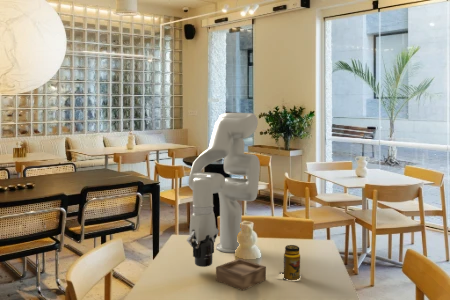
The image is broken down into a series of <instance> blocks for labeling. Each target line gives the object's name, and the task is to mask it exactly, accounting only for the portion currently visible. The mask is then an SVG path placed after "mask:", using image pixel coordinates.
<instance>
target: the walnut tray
mask: <svg viewBox="0 0 450 300" xmlns="http://www.w3.org/2000/svg"><path fill="white" fill-rule="evenodd" d="M266 280H267V267H266V266H265V265H262V264H259V263H256V262H252V261H249V260H247V259H244V258H243V259H242V258H237V259H234V260H231V261H228V262H225V263H223V264H220V265H218V266H216V267H215V281H216V282H219V283H220V284H224V285H227V286H229V287H233V288H235V289H238V290H240V289H241V291H245V290H246V289H249V288H251V286H252V287H254V286H256V285H258V284H260V282H261V283H263V282H265V281H266ZM262 281H263V282H262Z"/></svg>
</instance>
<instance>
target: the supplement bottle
mask: <svg viewBox="0 0 450 300" xmlns="http://www.w3.org/2000/svg"><path fill="white" fill-rule="evenodd" d="M195 244H197V241H196V243H195ZM199 248H200V258H199V259H198V258H195V257H194V264H195V265H196V266H197V267H201V268H205V267H210V266H212V264H213V257H214V256H213V254H214V253H213V244H212V241H211V240H210V238H209V235H207V236H206V238H205V239H204V240H202V241H201V242H200V245H199Z"/></svg>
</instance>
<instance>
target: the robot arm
mask: <svg viewBox="0 0 450 300" xmlns="http://www.w3.org/2000/svg"><path fill="white" fill-rule="evenodd" d="M258 121H259V120H258V117H257V115H256V114H254V113H251V112H224V113H221V114H219V116H218V119H217V120H216V121H215V123H214V127H213V131H212V134H211V138H210V141H209V145H208V147H207V148H206V150H204V151H203V152H201V153H200V155H199V156H198V157H196V158H195V160H194V161H193V162H192V166H191V169H190V173H189V175H188V181H187V182H188V183H187V184H188V187H189V189H191V190H192V210H193V211H192V214H191V216H190V219H189V221H190V222H189V236H188V237H187V239H186V242H187V243H188V244H189V245H190V247H192V257H193V258H194V259H195V258H198V259H199V258H200V248H199V245H200V242H201V241H202V240H204V239H205V238H206V236H207V235H209V238H210V240H211V241H212V244H213V254H214V253H215V246H216V250H217V251H219V252H223V253H236V252H235V250H236V249H237V247H238V246H239V243H238V242H237V235H238V233H239V232H240V231H241V232H242V227H241V228H240V223H241V224H242V218H243V217H242V216H243V215H242V208H241V205H240V203H239V201H244V202H253V201H255V200H256V199H257V197H258V191H259V183H260V171H261V170H260V169H261V163H260V158H259V157H258V156H257V154H256V155H255V154H251V153H245V145H246V144H245V140H244V139H248V138H250V136H252V135H253V134H254V133H255V132H256V130H257V128H258V125H259V122H258ZM222 159H223V171H224V173H225V174H228V175H233V176H244V177H246V178H240V177H239V178H238V177H225V176H224V175H223V174H221V173H217V172H205V171H203V169H204V168H206V167H207V166H208V165H210V164H213V163H214V162H218V161H219V160H222ZM213 194H218V198H219V229H218V228H217V225H216V217H215V213H214V207H215V205H214V195H213ZM218 234H219V243H217V244H216V245H215V243H216V239H217V237H218ZM196 241H197V244H195V243H196Z"/></svg>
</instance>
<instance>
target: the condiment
mask: <svg viewBox="0 0 450 300" xmlns="http://www.w3.org/2000/svg"><path fill="white" fill-rule="evenodd" d="M300 272H301V254H300V246H298V245H296V244H295V245H294V244H289V245H288V244H287V245H286V246H285V247H284V253H283V271H279V274H281V273H282V274H284V278H285V279H288V280H297V279H299V278H300V276H301V277H302V276H303V274H301V273H300ZM279 274H278V275H279Z"/></svg>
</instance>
